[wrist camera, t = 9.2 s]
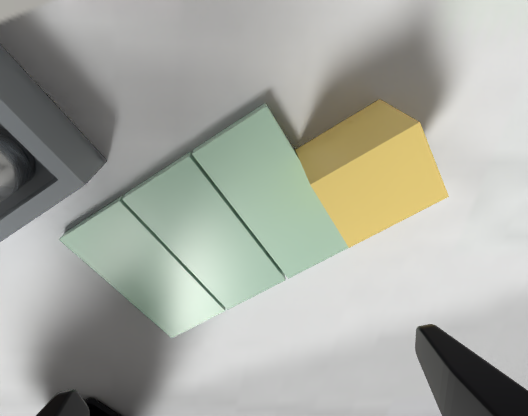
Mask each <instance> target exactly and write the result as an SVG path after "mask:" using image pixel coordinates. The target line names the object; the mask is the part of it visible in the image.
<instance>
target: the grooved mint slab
mask: <svg viewBox="0 0 528 416" xmlns="http://www.w3.org/2000/svg"><path fill="white" fill-rule="evenodd" d="M296 153H297V154H296ZM447 197H449V196H448V193H447V191H446V188H445V186H444V183H443V180H442V178H441V175H440V173H439V170H438V168H437V165H436V162H435V160H434V157H433V155H432V152H431V150H430V147H429V144H428V142H427V139H426V137H425V134H424V131H423V129H422V126H421V124H420V122H419V121H417V120H415V119H414V118H412V117H410V116H408V115H407V114H405V113H403V112H401V111H400V110H398V109H396V108H394V107H393V106H391V105H389V104H387V103H386V102H384V101H382V100H381V99H379V100H377V101H376V102H374V103H372V104H371V105H369V106H367V107H366V108H364V109H362V110H361V111H359V112H357V113H356V114H354V115H352V116H351V117H349V118H347V119H346V120H344V121H342V122H341V123H339V124H337V125H336V126H334V127H332V128H331V129H329V130H327V131H326V132H324V133H322V134H321V135H319V136H317V137H316V138H314V139H312V140H311V141H309V142H307V143H306V144H304V145H302V146H301V147H299V148H297V149H296V152H295V150H294V149H293V147H292V145H291V144H290V142H289V140H288V139H287V137H286V135H285V134H284V132H283V131H282V129H281V127H280V126H279V124H278V122H277V121H276V119H275V117H274V116H273V114H272V112H271V111H270V109H269V107H268V106H267V104H266V103H264V104H263V105H261V106H260V107H258V108H257V109H255V110H254V111H252V112H250V113H249V114H247V115H246V116H244V117H243V118H241V119H240V120H238V121H237V122H235V123H233V124H232V125H230V126H229V127H227V128H226V129H224V130H223V131H221V132H220V133H218V134H217V135H215V136H213V137H212V138H210V139H209V140H207V141H206V142H204V143H203V144H201V145H200V146H198V147H196V148H195V149H194V150H193V153H192V152H191V151H190V152H189V153H187V154H186V155H184V156H183V157H181V158H179V159H178V160H176V161H175V162H173V163H172V164H170V165H169V166H167V167H166V168H164V169H163V170H161V171H159V172H158V173H156V174H155V175H153V176H152V177H150V178H149V179H147V180H146V181H144V182H142V183H141V184H139V185H138V186H136V187H135V188H133V189H132V190H130V191H129V192H127V193H126V194H125V195H122V196H121V197H119V198H118V199H116V200H115V201H113V202H112V203H110V204H109V205H107V206H105V207H104V208H102V209H101V210H99V211H98V212H96V213H95V214H93V215H92V216H90V217H89V218H87V219H85V220H84V221H82V222H81V223H79V224H78V225H76V226H75V227H73V228H72V229H70V230H68V231H67V232H65V233H64V234H63V235H62V237H61V238H60V239H59V240H60V241H61V242H62V243H63V244H64V245H66V246H67V247H68V248H69V249H70V250H71V251H72V252H74V253H75V254H76V255H77V256H78V257H79V258H80V259H82V260H83V261H84V262H85V263H86V264H87V265H88V266H90V267H91V268H92V269H93V270H94V271H95V272H96V273H98V274H99V275H100V276H101V277H102V278H103V279H104V280H106V281H107V282H108V283H109V284H110V285H111V286H112V287H114V288H115V289H116V290H117V291H118V292H119V293H120V294H122V295H123V296H124V297H125V298H126V299H127V300H128V301H130V302H131V303H132V304H133V305H134V306H135V307H136V308H138V309H139V310H140V311H141V312H142V313H143V314H144V315H146V316H147V317H148V318H149V319H150V320H151V321H152V322H154V323H155V324H156V325H157V326H158V327H159V328H160V329H162V330H163V331H164V332H165V333H166V334H167V335H168V336H170V337H171V338H174V337H176V336H178V335H180V334H182V333H183V332H185V331H187V330H189V329H191V328H193V327H195V326H197V325H199V324H201V323H203V322H205V321H207V320H209V319H211V318H213V317H215V316H217V315H219V314H220V313H222V312H224V311H225V308H226V309H227V310H228V309H230V308H232V307H234V306H236V305H238V304H240V303H242V302H244V301H246V300H248V299H250V298H252V297H254V296H256V295H258V294H259V293H261V292H263V291H265V290H267V289H269V288H271V287H273V286H275V285H277V284H279V283H281V282H283V281H285V275H286V276H287V278H288V279H289V278H291V277H293V276H295V275H296V274H298V273H300V272H302V271H304V270H306V269H308V268H310V267H312V266H314V265H316V264H318V263H320V262H322V261H324V260H326V259H328V258H330V257H332V256H333V255H335V254H337V253H339V252H341V251H343V250H345V249H347V248H350V247H351V246H353V245H355V244H357V243H359V242H361V241H363V240H365V239H367V238H369V237H371V236H373V235H375V234H377V233H379V232H381V231H383V230H385V229H387V228H388V227H390V226H392V225H394V224H396V223H398V222H400V221H402V220H404V219H406V218H408V217H410V216H412V215H414V214H416V213H418V212H420V211H422V210H424V209H426V208H427V207H429V206H431V205H433V204H435V203H437V202H439V201H441V200H443V199H445V198H447Z"/></svg>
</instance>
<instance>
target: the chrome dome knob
mask: <svg viewBox="0 0 528 416" xmlns="http://www.w3.org/2000/svg"><path fill="white" fill-rule="evenodd" d="M35 170H36V162H35V157H34V156H33V155H32V154H31V153H30V152H29V151H28V150H27V149H26V148H25V147H24V146H23V145H22V144H21V143H20V142H19V141H18V140H17V139H16V138H15V137H14V136H13V135H12V134H11V133H10V132H9V131H8V130H6V129H3V128H0V202H1V201H3V200H5V199H6V198H8V197H9V196H10V195H11V194H13V193H14V192H15V191H17V190H18V189H19V188H21V187H22V186H23V185H24V184H26V183H27V182H28V181H29V180H31V178H32V177H33V175H34V173H35Z"/></svg>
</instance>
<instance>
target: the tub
mask: <svg viewBox="0 0 528 416" xmlns="http://www.w3.org/2000/svg"><path fill="white" fill-rule="evenodd" d="M0 128H3V129H6V130H8V131H9V132H10V133H11V134H12V135H13V136H14V137H15V138H16V139H17V140H18V141H19V142H20V143H21V144H22V145H23V146H24V147H25V148H26V149H27V150H28V151H29V152H30V153H31V154H32V155H33V156H34V157H35V162H36V170H35V173H34V175H33V177H32V178H31V180H29V181H28V182H27V183H26V184H24V185H23V186H22V187H21V188H19V189H18V190H17V191H15V192H14V193H13V194H11V195H10V196H9V197H8V198H6V199H5V200H3V201H1V202H0V242H1V241H3V240H4V239H6V238H7V237H9V236H10V235H12V234H13V233H14V232H16V231H17V230H19V229H20V228H22V227H23V226H25V225H26V224H28V223H29V222H31V221H32V220H34V219H35V218H37V217H38V216H40V215H41V214H43V213H44V212H46V211H47V210H49V209H50V208H51V207H53V206H54V205H56V204H57V203H59V202H60V201H62V200H63V199H65V198H66V197H68V196H69V195H71V194H72V193H74V192H75V191H77V190H78V189H80V188H81V187H83V186H84V185H85V184H86V183H87V182H88V181H89V180H90V179H91V178H92V177H93V176H94V175H95V174H96V173H97V171H98V170H99V169H100V168H101V167H102V166H103V165H104V164H105V163H106V162H107V160H106V159H105V158H104V157H103V156H102V155H101V154H100V153H99V151H98V150H97V149H96V148H95V147H94V146H93V145H92V144H91V143H90V142H89V141H88V139H87V138H86V137H85V136H84V135H83V134H82V133H81V132H80V131H79V130H78V129H77V127H76V126H75V125H74V124H73V123H72V122H71V121H70V120H69V119H68V118H67V117H66V115H65V114H64V113H63V112H62V111H61V110H60V109H59V108H58V107H57V106H56V105H55V103H54V102H53V101H52V100H51V99H50V98H49V97H48V96H47V95H46V94H45V93H44V92H43V90H42V89H41V88H40V87H39V86H38V85H37V84H36V83H35V82H34V81H33V80H32V78H31V77H30V76H29V75H28V74H27V73H26V72H25V71H24V70H23V69H22V68H21V66H20V65H19V64H18V63H17V62H16V61H15V60H14V59H13V58H12V57H11V56H10V54H9V53H8V52H7V51H6V50H5V49H4V48H3V47H2V46H1V45H0Z"/></svg>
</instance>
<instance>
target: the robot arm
mask: <svg viewBox="0 0 528 416" xmlns="http://www.w3.org/2000/svg"><path fill="white" fill-rule="evenodd" d="M415 350H416V354H417V357H418V360H419V362H420V365H421V367H422V369H423V372H424V374H425V376H426V379H427V381H428V384H429V386H430V388H431V391H432V393H433V395H434V398H435V400H436V403H437V405H438V407H439V410H440V412H441V414H442V416H528V390H526V389H525V388H524V387H522V386H521V385H519V384H518V383H516V382H515V381H514V380H512V379H511V378H509V377H508V376H507V375H505V374H504V373H502V372H501V371H499V370H498V369H497V368H495V367H494V366H492V365H491V364H490V363H488V362H487V361H485V360H484V359H482V358H481V357H480V356H478V355H477V354H475V353H474V352H473V351H471V350H470V349H468V348H467V347H465V346H464V345H463V344H461V343H460V342H458V341H457V340H456V339H454V338H453V337H451V336H450V335H448V334H447V333H446V332H444V331H443V330H441V329H440V328H439V327H437V326H436V325H433V324H428V325H423V326H418V327H417V329H416V342H415ZM36 416H120V415H118V414H117V413H115V412H114V411H112V410H111V409H109V408H108V407H106V406H104V405H103V404H101V403H100V402H98V401H97V400H95V399H92V398H89V399H86V400H83V399H82V397H81V396H80V394H79V393H78V391H76V390H74V389H73V390H67V391H62V392H59V393H57V394H56V395H55V396H54V397H53V398H52V399H51V400H50V401H49V402H48V403H47V405H46V406H45V407H44V408H43V409H42V410H41V411H40V412H39V413H38V414H37V415H36Z"/></svg>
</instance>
